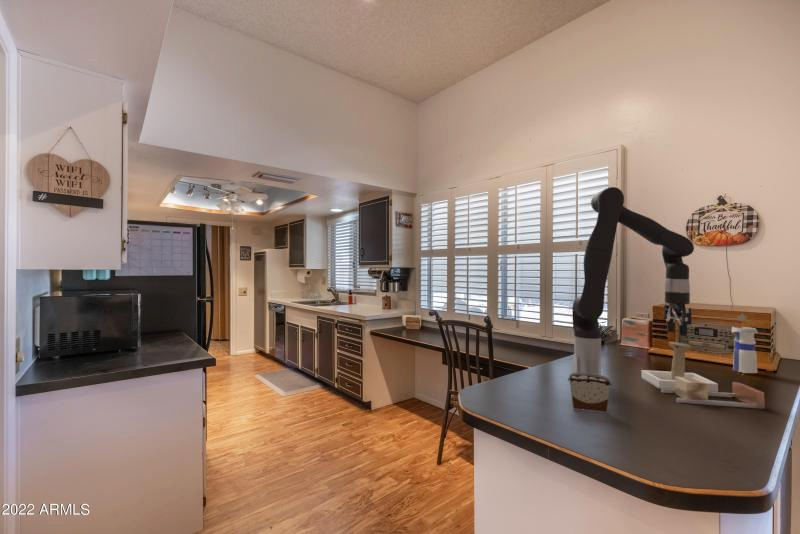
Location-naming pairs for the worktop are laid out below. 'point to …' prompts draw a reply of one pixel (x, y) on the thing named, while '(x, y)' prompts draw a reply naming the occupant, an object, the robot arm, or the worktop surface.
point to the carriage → (691, 388)
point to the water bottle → (744, 349)
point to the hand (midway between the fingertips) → (676, 333)
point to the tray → (665, 380)
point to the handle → (678, 359)
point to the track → (738, 391)
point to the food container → (590, 391)
